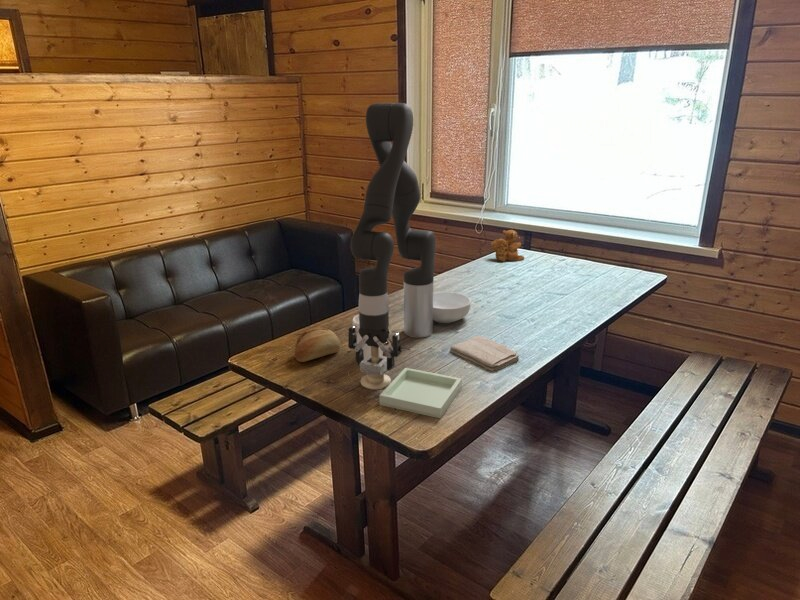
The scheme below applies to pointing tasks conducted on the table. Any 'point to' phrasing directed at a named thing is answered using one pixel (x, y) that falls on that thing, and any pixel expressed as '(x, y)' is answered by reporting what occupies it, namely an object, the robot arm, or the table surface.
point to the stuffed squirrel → (507, 247)
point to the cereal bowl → (449, 306)
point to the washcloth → (485, 352)
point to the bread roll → (316, 344)
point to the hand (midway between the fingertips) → (375, 366)
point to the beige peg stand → (375, 380)
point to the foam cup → (365, 348)
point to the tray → (421, 392)
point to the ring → (374, 365)
